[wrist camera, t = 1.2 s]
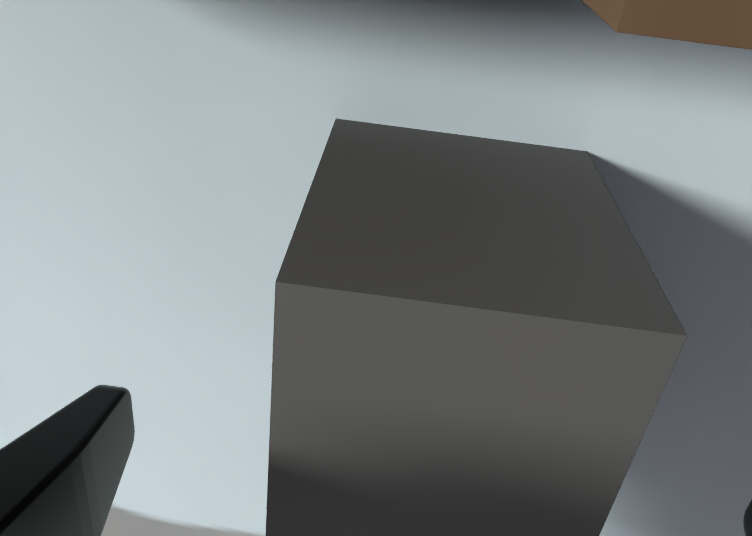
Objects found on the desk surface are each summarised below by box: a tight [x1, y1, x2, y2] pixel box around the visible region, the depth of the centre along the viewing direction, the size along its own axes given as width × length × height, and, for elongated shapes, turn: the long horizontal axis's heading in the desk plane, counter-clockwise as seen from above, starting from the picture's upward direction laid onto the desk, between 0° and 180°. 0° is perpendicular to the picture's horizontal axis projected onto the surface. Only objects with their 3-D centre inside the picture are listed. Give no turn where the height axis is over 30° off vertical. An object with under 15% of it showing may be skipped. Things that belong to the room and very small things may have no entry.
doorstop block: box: [266, 119, 687, 536], centre depth 11 cm, size 6×4×6 cm
